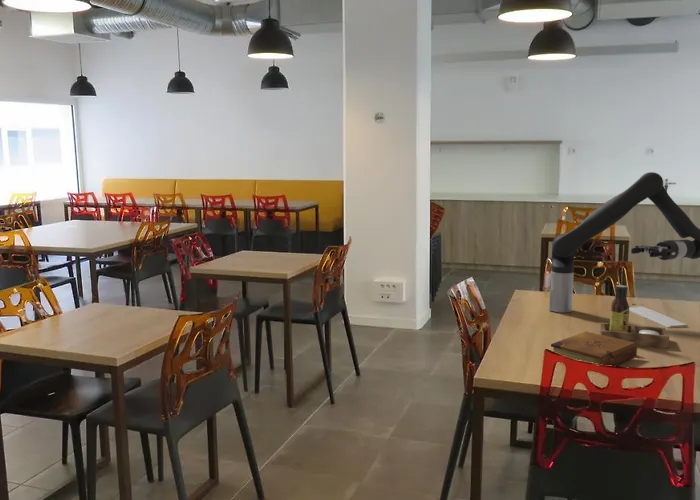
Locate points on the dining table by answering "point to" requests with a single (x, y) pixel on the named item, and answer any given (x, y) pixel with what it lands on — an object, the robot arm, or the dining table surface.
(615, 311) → the sauce bottle
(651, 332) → the white oval piece
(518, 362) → the dining table surface
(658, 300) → the dining table surface
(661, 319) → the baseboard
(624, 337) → the caddy
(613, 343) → the diary
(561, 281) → the robot arm
